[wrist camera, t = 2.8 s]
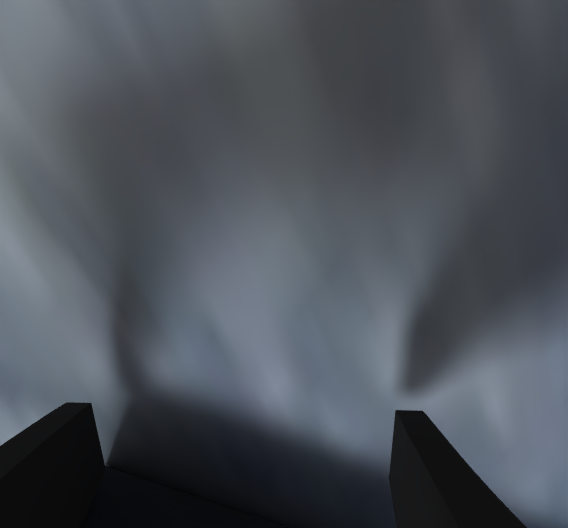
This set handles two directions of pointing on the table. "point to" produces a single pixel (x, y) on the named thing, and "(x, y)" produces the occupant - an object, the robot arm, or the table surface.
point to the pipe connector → (158, 507)
